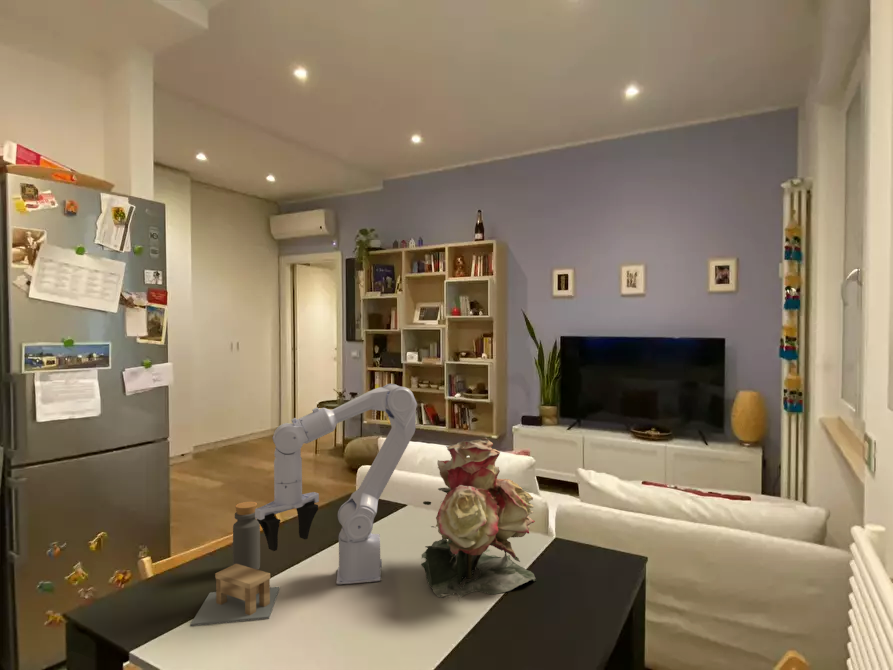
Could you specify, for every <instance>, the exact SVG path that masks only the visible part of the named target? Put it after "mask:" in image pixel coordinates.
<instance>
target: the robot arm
mask: <svg viewBox="0 0 893 670" xmlns="http://www.w3.org/2000/svg"><path fill="white" fill-rule="evenodd" d="M414 395H415V394H414V393H413V392H412V390H411V389H409V388H408V387H406V386H400V385H397V384H395V383H387V384H385V385H384V386H381V387H375V388H373V389H371V390H369V391H367V392H365V393H363V394H361V395H359V396H357V397H355V398H353V399H351V400H349V401H347V402H345V403H343V404H341V405H339V406H337V407H334V408H333V409H328V408H326V407H321V408H319V407H315V408H312V412H310V413H308V414H306V415H304V416H302V417H299V418H296V417H294V418H291V423H288V422H284V423H282V424H279V426H277V427H276V429H275V430H274V433H273V436H272V441H273V444H274V446H275V449H274V452H273V453H274V455H273V456H274V460H273V480H274V482H273V483H274V484H273V486H274V487H273V491H274V492H273V493H274V496H273V497H274V500H273V501H270V502H269V503H266V504H265V505H262V506H259V507H256V509H255V518H256V519H257V521H258V522H259V524H260V528H261V529H262V531H263V533H264V536H265V539H266V544H267V547H268V549H269V550H270V551H272V552H276V551H278V547H279V546H278V543H279V541H278V539H279V537H278V536H279V528H280V524H281V519H279V518H277V516H276V515H278V514H281V513H284V512H287V511H289V510H293V509H296V513H297V517H298V518H297V520H298V535H299V538H300V539H303V540H308V538H309V533H310V529H311V526H312V523H313V521H314V518H315V517H316V514H317V512H318V510H319V505H318V504H316V503H319V501H320V498H319V497H320V495H319V494H320V493H318V492H315V491H312V492H311V491H310V492H306V493H303V466H302V465H303V464H302V463H303V462H302V461H303V460H302V459H303V458H302V456H301V455H302V454H301V452H302V450H301V449H302V448H303V445H304V444H309V443H311V442H314V441H315V440H318V439H320V438H322V437H324V436H326V435H328V434H330V433H333V432H334V431H335V430H336V427H337V426H338V424H339V423H341V422H344V421H346V420H348V419H351V418H353V417H356V416H359V415H360V414H363V413H365V412H368V411H371V410H372V411H380V412H385V413H386V414H387V417H388V421H389V424H390V427H391V428H390V430H389V432H388V434H387V436H386V438H385V439H384V442H383V444H382V445H381V447H380V449H379V450H378V452H377V455H376V456H375V458H374V460H373V462H372V464H371V466H370V467H369V469H368V470H367V472H366V475H365V476H364V478H363V480H362V482H361V484H360V485H359V487H358V488H357V489H356V490H355V491H354V492H352V493H351V495H350V497H349V498H348V500H346V501H345V502H344V503H343V504H342V505H341V506H340V507H339V509H338V511H337V519H338V522H339V524H340V525H341V529H340V532H339V533H338V568H337V573H336V582H335V583H336V585H349V584H361V583H371V582H380V581H381V579H382V578H381V569H382V568H383V567H382V565H383V564H382V563H383V561H382V558H381V535H380V534H379V533H372V531H373V528H374V519H375V517H376V515H377V513H378V504H379V499H380V498H381V496H382V494H383V492H384V490H385V488H386V486H387V485H388V483H389V481H390V479H391V478H392V476H393V474H394V472H395V470H396V468H397V466H398V465H399V463H400V460H401V459H402V456H403V454H404V453H405V452H406V449H407V447H408V446H409V444H410V441H411V440H412V437H413V436H414V435H415V431H416V429H417V428H416V425H417V423H416V421H417V420H416V409H417V407H418V402H417V400H416V398H415V396H414Z"/></svg>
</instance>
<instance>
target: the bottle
mask: <svg viewBox="0 0 893 670" xmlns="http://www.w3.org/2000/svg"><path fill="white" fill-rule="evenodd" d="M257 506H258V503H257V502H255V501H244V502H239V503H237V504H236V505H235V511H236V512H234V519H235V520H237V521H235V522H234V523H233V525H232V565H234V564H240V565H243V566H246V567H250V568H253V569H257V570H260V568H261V525H260V524H259V522H258V521H257V519H256V518H255V509H256V508H258V507H257Z"/></svg>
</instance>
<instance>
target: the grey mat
mask: <svg viewBox="0 0 893 670" xmlns="http://www.w3.org/2000/svg"><path fill="white" fill-rule="evenodd" d="M279 591H280V586H270V604H268V605H267V606H265V607H263V606H260V605H259V593H258V594H256V612H255V613H253V614H252V615H248V614H245V601H244V600H241V599H238V598H235V597H232V596H229V595H227V602H225V603H223V604H222V605H220V604H217V603H216V591H211V592H209V593H208V595H207V597H206V598H205V600H204V601H203V603H202V605H201V606H200V608H199V610H198V611H197V612H196V614H195V616H194V618H193V619H192V621H191V623H190V627H196V626H204V625H205V624H207V625H215V624H217V623H218V624H223V623H224V624H227V623H228V624H229V623H236V621H239V622H247V621H259V620H270V617H271V615H270V614H272V612H271V611H273V609H272V608H274V605H275V602H276V599H277V597H278V593H279ZM226 622H227V623H226Z"/></svg>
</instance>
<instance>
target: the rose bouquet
mask: <svg viewBox="0 0 893 670" xmlns="http://www.w3.org/2000/svg"><path fill="white" fill-rule="evenodd" d="M493 446H494V443H493V442H492V441H490V439H489V438H487V437H481V438H480V439H474V440H470V441H469V440H462V441H458V442H457V443H456V444H453V445H447V446H445V448H446V449H447V451H448V452H449V455H450V457H451V458H450V460H449V459H447V460H439V459H437V469H438V470H439V475H440V477H441V479H442V481H443V483H444V484H445V486H446V487H439V488H437V490H438V491H441V492H444V493H445V497H444V498H443V500H442V501H440V503H441V504H440V506H439V508H438V511H437V515H436V517H435V519H436V525H434V526H433V525H432V526H431V528H437V529H438V530H437V532H438V534H439V535H441V539H439V540H435V541H433V542H432V544H431V545H427V546H424V547H425V548H427V549H426V550H425V551H423V553H422V554H421V559H425V560H426V561H423V562H421V564H420V565H421V566H422V568H423V569H424V572H425V577H426V580H427V583H428V585H429V586H430V588H431V589H432V592H433V593H434V595H436V597H438V598H449V597H453V596H455V595H454V594H457V595H458V600H457V601H458V602H460V600H459V599H461V598H462V597H464V596H466V595H467V594H470V593H473V592H476V591H477V592H480V593H485V594H488V595H497V594H500V593H506V592H511V591H512V590H514V589H515V588H518V587H519V586H522V585H523V584H525V583H528V582H529V581H533V582H535V581H536V580H537V579H536V577H535V574H534V572H532V571H531V570H528V569H526V568H524V567H523V566H521V565H519V564H517V563H518V562H519V563H520V562H521V560H520V558H519V557H518V556H516V553H515V551H514V549H513V548H512V543H511V542H510V541H509V540H508V539H510V538H514V539H515V538H523V537H525V535H527V534H530V527H531V526H530V525H532V524H534V523H535V522H536V521H535V520H533V519H532V518H531V517H530V515H531V514H534V511H532V510H531V509H533V508H534V504H531V503H530V501H533V499H534V496H532V494H530V493H529V492H527V491H526V490H523V488H522V487H521V486H519V484H518V483H517V482H515V481H513V480H511V479H509V478H507V479H506V478H502V479H501V478H498V476H499V474H500V467H499V466H496V461H497V459H498V458H499V456H500V455H501V451H499V450H497V449H495V448H492V447H493ZM468 456H469V457H468ZM432 503H433V502H431V501H427V500H426V501H425V500H424V501H423V502H422V504H423V505H426V506H431V504H432ZM490 546H491V547H494V548H496V549H497V550H501V551H503V552H504V555H503V557H502V556H497V555H495V554H491V555H489V554H488V553H491V551H492V549H489V547H490ZM485 553H487V554H485ZM511 557H512V559H514V560H515V561H514V560H512V559H511ZM516 562H517V563H516ZM476 569H477V570H479V575H478V576H477V577H476V578H474V579H471V580H468V581H465V582H464V580H466V579H470V578H473V577H474V573H473V572H475V571H476ZM463 582H464V584H463V586H462V587H461V586H460V585H461V584H462V583H463Z"/></svg>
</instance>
